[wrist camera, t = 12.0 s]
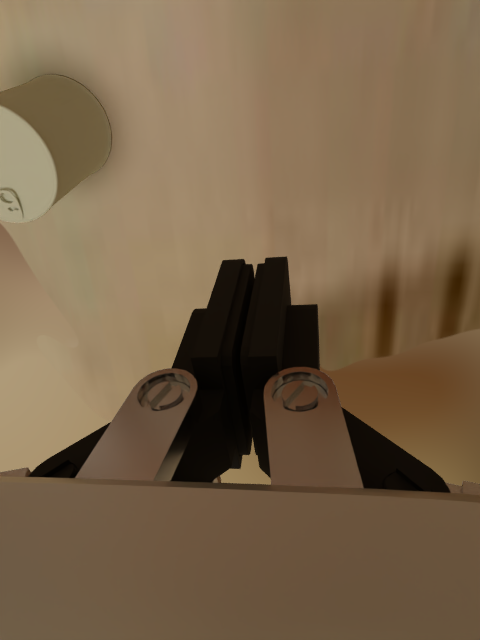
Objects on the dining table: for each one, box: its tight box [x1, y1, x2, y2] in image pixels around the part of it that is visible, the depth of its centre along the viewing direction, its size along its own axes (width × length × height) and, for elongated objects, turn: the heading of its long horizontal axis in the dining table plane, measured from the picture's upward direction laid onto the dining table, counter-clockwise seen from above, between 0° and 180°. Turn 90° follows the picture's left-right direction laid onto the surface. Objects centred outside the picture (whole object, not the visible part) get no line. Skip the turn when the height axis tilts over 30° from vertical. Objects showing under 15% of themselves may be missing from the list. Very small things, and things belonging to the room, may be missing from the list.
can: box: [0, 75, 111, 223], centre depth 38 cm, size 9×9×12 cm
